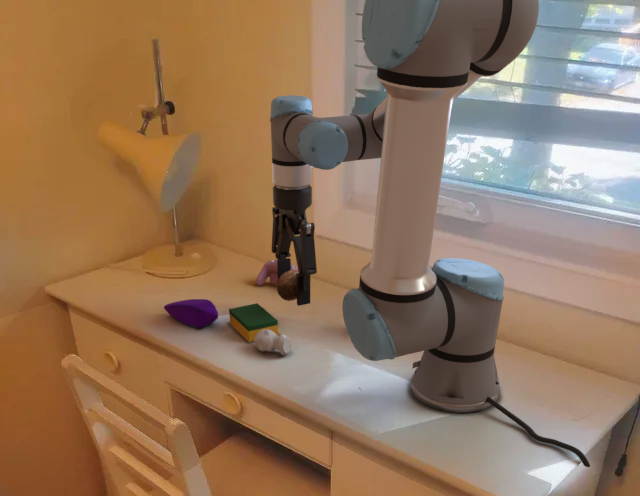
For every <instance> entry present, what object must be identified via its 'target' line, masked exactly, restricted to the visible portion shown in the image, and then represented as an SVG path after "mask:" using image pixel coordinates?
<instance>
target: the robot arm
mask: <svg viewBox="0 0 640 496" xmlns="http://www.w3.org/2000/svg"><path fill="white" fill-rule="evenodd" d="M539 4H540V3H539V0H365V1H364V5H363V9H362V17H361V39H362V41H364V44H363V50H364V53H365V55H366V58H367V59H368V61H369V62H370V64H372V65H374V67H376V69H377V70H376V80H377V81H378V82H379V83H380V85H381V86H382V88H384V89H385V92H386V97H385V98H384V100H383V101H381V102H380V103H379V104H378V106H377V107H375V108H374V109H373V110H372V111H371V112H368V113H361V114H360V113H359V114H351V115H337V116H326V117H318V116H314V111H313V105H312V104H313V103H312V100H311V99H310V98H309V96H308V97H307V96H304V95H292V94H291V95H280V96H276V97H274V98H272V100H271V101H270V117H269V122H270V139H271V143H270V144H271V178H272V180H271V182H272V184H273V186H272V204H273V206H272V209H271V213H272V230H271V231H272V232H271V234H272V235H271V253H272V254H274V256H275V260H277V269H278V280H279V278H280V277H281V275H283V274H284V273H285V272H287V271H290V270H291V263H292V262H291V258H290V257H292V254H291V253H290V250H291V246H292V245H293V249H294V255H295V260H296V265H297V266H296V267H297V268H298V271H299V273H297V274H296V276H297V299H296V305H297V306H298V307H299V306H305V305H308V304H311V275H316V274H317V273H318V269H317V256H316V255H317V254H316V244H315V243H316V242H315V228H316V227H315V226H316V225H315V223H314V222H308V221H307V219H308V218H307V213H306V211H307V210H308V208H310V207H311V206H312V204H313V187H312V186H311V184H312V182H313V177H312V176H313V173H312V172H313V171H312V170H313V169H314V168H315V169H319V170H322V171H329V170H333V169H335V168H336V167H338V166H339V165H340V164H341V165H342V163H345V162H347V163H348V162H355V161H364V160H373V159H374V160H375V159H380V165H379V174H378V185H377V195H376V206H375V207H376V208H375V219H374V229H373V240H372V250H371V260H370V261H369V262H368V263H367V264H365V265H363V267H362V268H361V269H360V273H359V283H358V288H353V287H352V288H351V289H350V290H348V291H347V292H346V293H345V294H344V296H343V298H342V317H343V322H344V326H345V330H346V332H347V334H348V337H349V340H350V341H351V344H352V345H353V347H354V348H355V350H356V351H357V352H358V354H360V355H361V357H363V359H366V360H367V361H371V362H379V361H384V360H395V358H399V357H403V356H408V355H411V354H416V353H420V352H423V353H422V355H421V357H420V360H417V361H414V362H412V370H413V369H415V370H414V372H413V375H412V378H411V387H410V389H411V392H412V394H413V395H414V397H415V398H416V399H417V400H418V401H420V402H421V403H423V404H424V405H427V406H429V407H430V408H433V409H437V410H439V411H445V412H450V413H451V412H452V413H473V412H478V411H482V410H486V409H488V408H490V407H494V408H495V409H497V410H498V411H500V413H502V414H503V415H505V416H506V417H508V418H509V419H511V420H512V422H514V423H516V424H517V425H518V426H520V427H521V428H523V429H524V430H525V431H526V432H527V434H528V435H529V436H530V437H531V438H532V439H533V440H535V441H537V442H540V443H544V444H550V445H553V446H555V447H558V448H561V449H563V450H566V451H568V452H572V453H573V454H575V455H576V456H577V457H578V459H579V460H580V461H581V462H582V465H583V467H586V468H590V467H591V464H590V461H589V459H588V458H587V457H586V455H585V454H584V452H582V451H581V450H580V449H579V448H578V447H575V446H573V445H570V444H568V443H565V442H562V441H559V440H557V439H554V438H550V437H546V436H545V437H544V436H541V435H540V434H537V433H536V432H535V430H533V429H532V427H531V426H530V425H528V424H527V423H526V422H525V421H523V420H522V419H521V418H519V417H518V416H516V414H514V413H512V412H511V411H510V410H508V409H507V408H506V407H504V406H502V405H501V404H500V403H498V402H497V400H498V399H499V395H500V388H501V387H500V379H499V376H498V369H497V363H496V360H495V359H496V358H495V350H496V344H497V335H498V329H499V324H500V318H501V312H502V306H503V301H504V286H505V279H504V276H503V274H501V272H500V270H498V269H497V268H495V267H493V266H491V265H489V264H485V263H484V262H480V261H476V260H472V259H466V258H459V257H445V258H440V259H436V260H435V262H434V263H433V265H432V268H430V259H431V252H432V245H433V239H434V231H435V225H436V218H437V211H438V204H439V197H440V190H441V183H442V177H443V170H444V163H445V156H446V148H447V141H448V137H449V134H448V133H449V128H450V121H451V113H452V108H453V102H454V101H455V100H456V99H457V98H458V97H460V96H461V95H462V94H463V93H465V92H466V91H467V90H468V89H469V88H470V87H471V86H473V85H475V83H476V82H478V81H479V80H480V79H482V77H483V78H484V77H487V78H488V77H492V76H495V75H497V74H499V73H500V72H501V71H502V70H504V69H505V68H506V67H507V66H508V65H510V64H511V63H512V62H514V61H515V60H516V59H517V58H518V57H519V56H520V54H522V52H524V50H525V49H526V47H527V46H528V44H529V43H530V41H531V39H532V37H533V35H534V33H535V30H536V27H537V25H538V24H537V23H538V18H539V11H540V9H539V7H540V5H539ZM291 244H292V245H291Z"/></svg>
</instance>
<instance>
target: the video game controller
mask: <svg viewBox="0 0 640 496" xmlns="http://www.w3.org/2000/svg"><path fill="white" fill-rule="evenodd" d="M277 260H278V259H271V260H270V259H269V260H267V262H265V263H264V265H263V266H262V268H261V270H260V271H259V273H258V275H257V277H256V280H255V281H256V285H257V286H261V285H263V284H264V283H265V282H266V281H267V280H268V278H269V282H270V283H271V284H273V285H277V284H278V269H277ZM291 270H298V266H296V265H294V264H293V263H292V262H291Z"/></svg>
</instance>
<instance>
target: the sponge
mask: <svg viewBox="0 0 640 496" xmlns="http://www.w3.org/2000/svg"><path fill="white" fill-rule="evenodd" d="M228 316H229V324H230V326H231V327H232V328H234V330H235V331H237V332H238V334H240V335H241V336H242V337H243V338H244V339H245V340H246V341H247V342H248V343H253V342H255V336H256V335H257V333H258V332H259V331H261V330H264V329H268V330H271V331H273V332H274V333H275V334H276V335H277V336H279V320H278V319H277V318H275V317H274V316H273V315H272V314H271V313H270V312H269V311H267V310H266V309H265V308H264V307H263V306H261V305H260V304H259V303H256V302H255V303H252V304H247V305H241V306H237V307H232V308H228Z"/></svg>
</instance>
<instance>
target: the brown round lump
mask: <svg viewBox="0 0 640 496" xmlns="http://www.w3.org/2000/svg"><path fill="white" fill-rule="evenodd" d="M297 273H299V271H298V270H290V271H287V272H285V273H284V274H283V275H281V277H280V278H279V280H278V284H276V290H277V294H278V296H279V297H280V298H281V299H282V300H284V301H287V302H292V301H295V300H297V276H296V274H297Z"/></svg>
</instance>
